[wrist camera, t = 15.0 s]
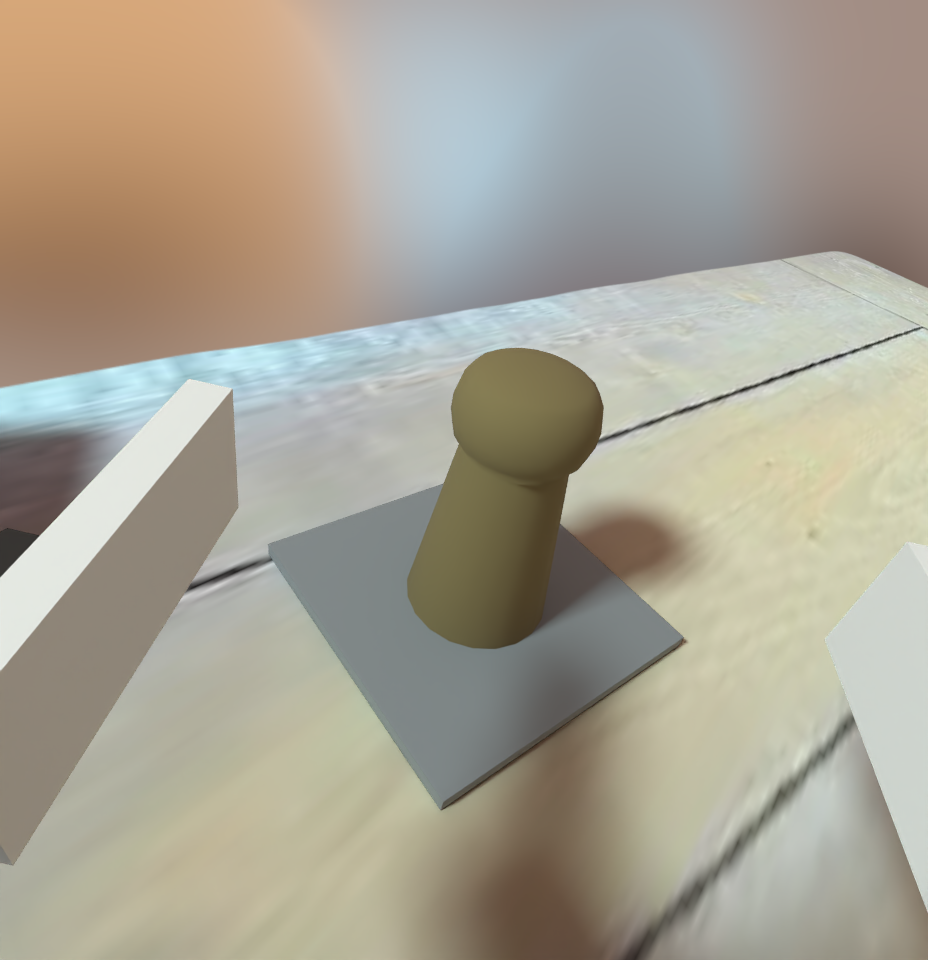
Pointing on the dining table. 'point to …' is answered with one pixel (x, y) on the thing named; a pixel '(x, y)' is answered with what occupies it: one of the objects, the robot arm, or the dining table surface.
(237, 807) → the dining table surface
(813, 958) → the dining table surface
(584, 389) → the cork
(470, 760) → the mat
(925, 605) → the robot arm
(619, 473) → the dining table surface
